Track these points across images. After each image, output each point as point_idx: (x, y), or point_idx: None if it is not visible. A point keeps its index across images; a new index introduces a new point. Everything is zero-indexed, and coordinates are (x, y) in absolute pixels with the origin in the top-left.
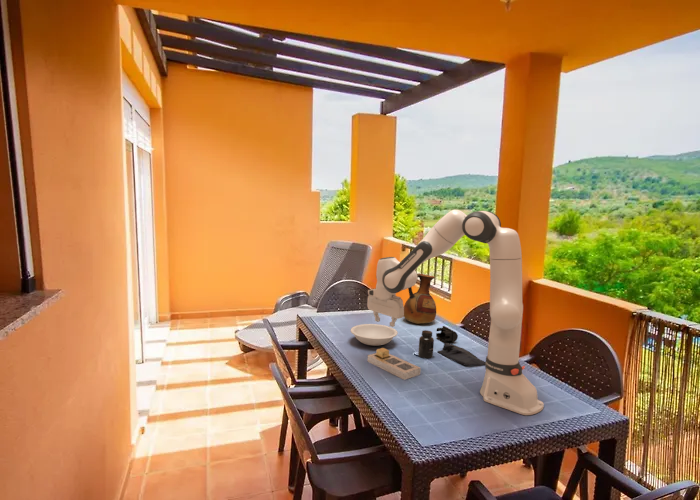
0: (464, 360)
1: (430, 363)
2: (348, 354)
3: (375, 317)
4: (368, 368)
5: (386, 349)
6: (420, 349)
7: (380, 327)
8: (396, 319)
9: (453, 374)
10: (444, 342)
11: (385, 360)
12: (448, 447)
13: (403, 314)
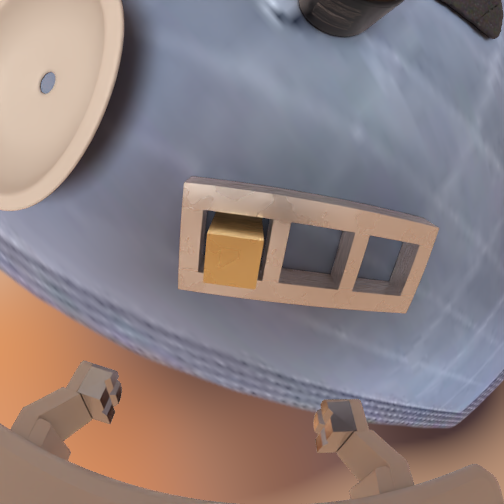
0: (487, 22)
1: (401, 73)
2: (86, 270)
3: (84, 417)
4: (239, 318)
5: (242, 240)
6: (338, 20)
7: (5, 10)
8: (401, 462)
9: (492, 131)
10: None
11: (279, 274)
12: (486, 392)
13: (494, 490)
